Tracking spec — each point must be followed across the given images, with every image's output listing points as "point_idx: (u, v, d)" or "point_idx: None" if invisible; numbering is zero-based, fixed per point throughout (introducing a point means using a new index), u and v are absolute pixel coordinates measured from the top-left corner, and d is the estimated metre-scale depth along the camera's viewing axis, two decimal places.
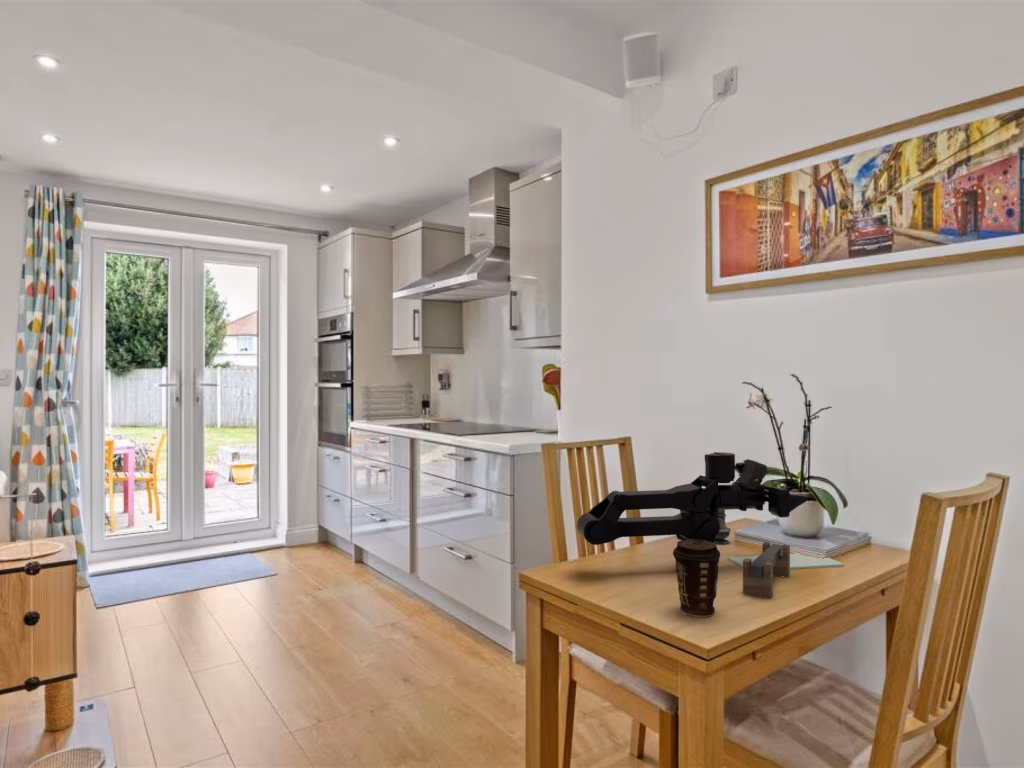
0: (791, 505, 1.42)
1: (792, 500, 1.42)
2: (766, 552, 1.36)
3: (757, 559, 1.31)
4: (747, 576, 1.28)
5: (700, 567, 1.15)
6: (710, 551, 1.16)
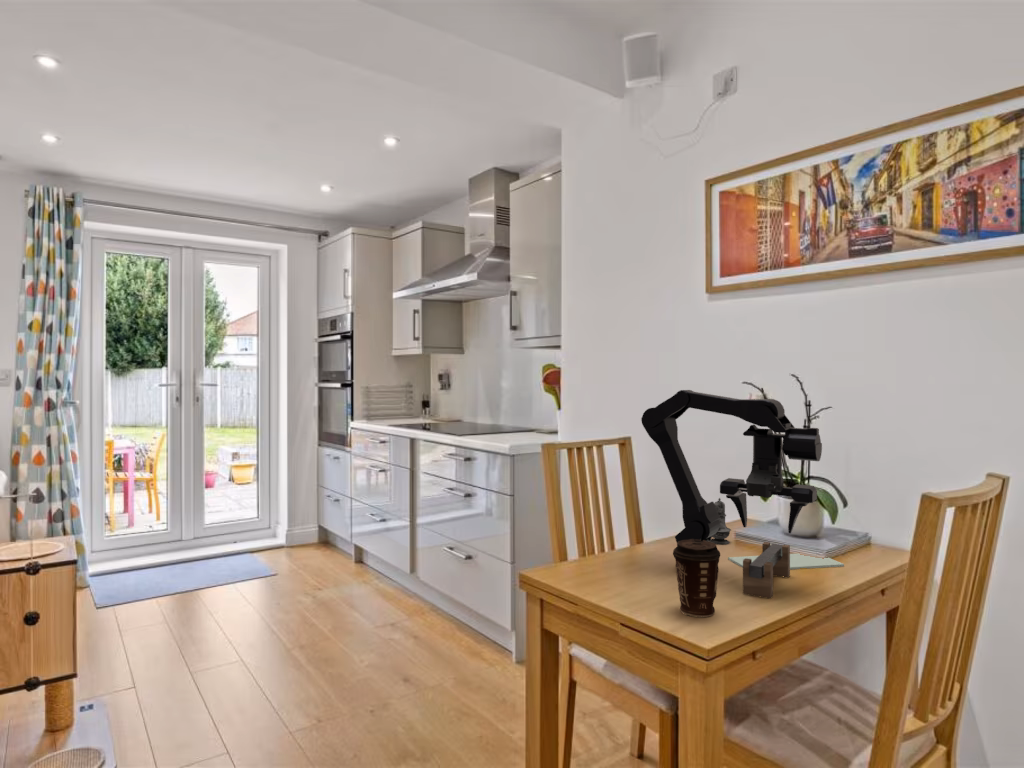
0: None
1: None
2: (766, 552, 1.36)
3: (757, 559, 1.31)
4: (747, 576, 1.28)
5: (700, 567, 1.15)
6: (710, 551, 1.16)
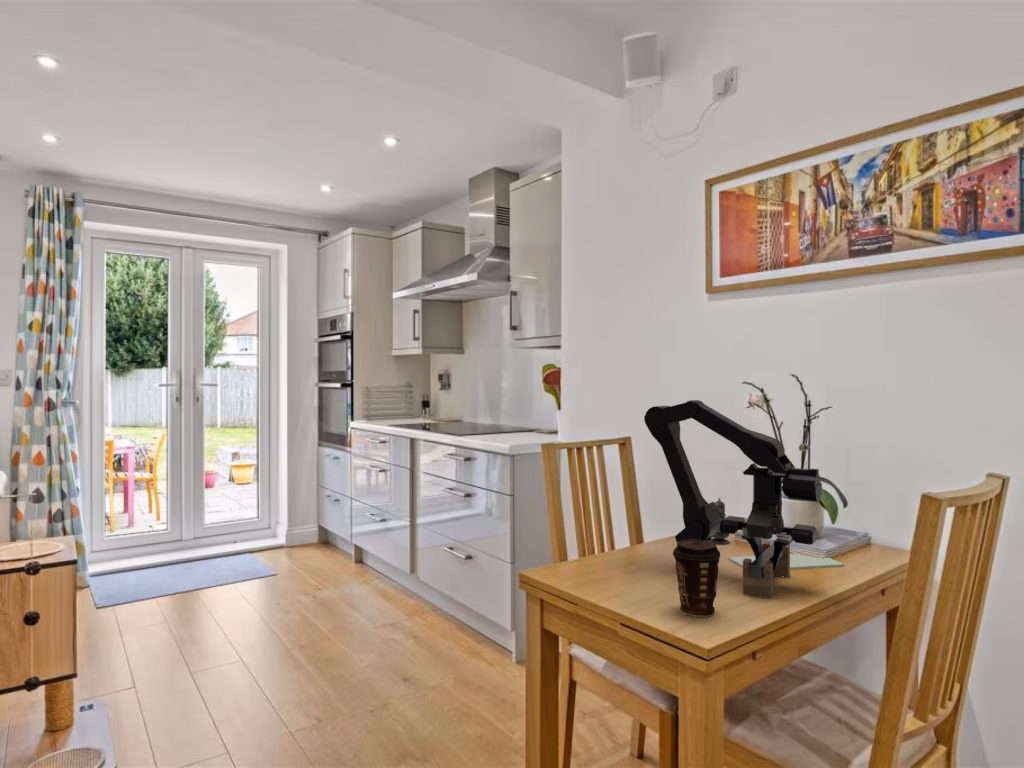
0: None
1: None
2: (766, 552, 1.36)
3: (757, 559, 1.31)
4: (747, 576, 1.28)
5: (700, 567, 1.15)
6: (710, 551, 1.16)
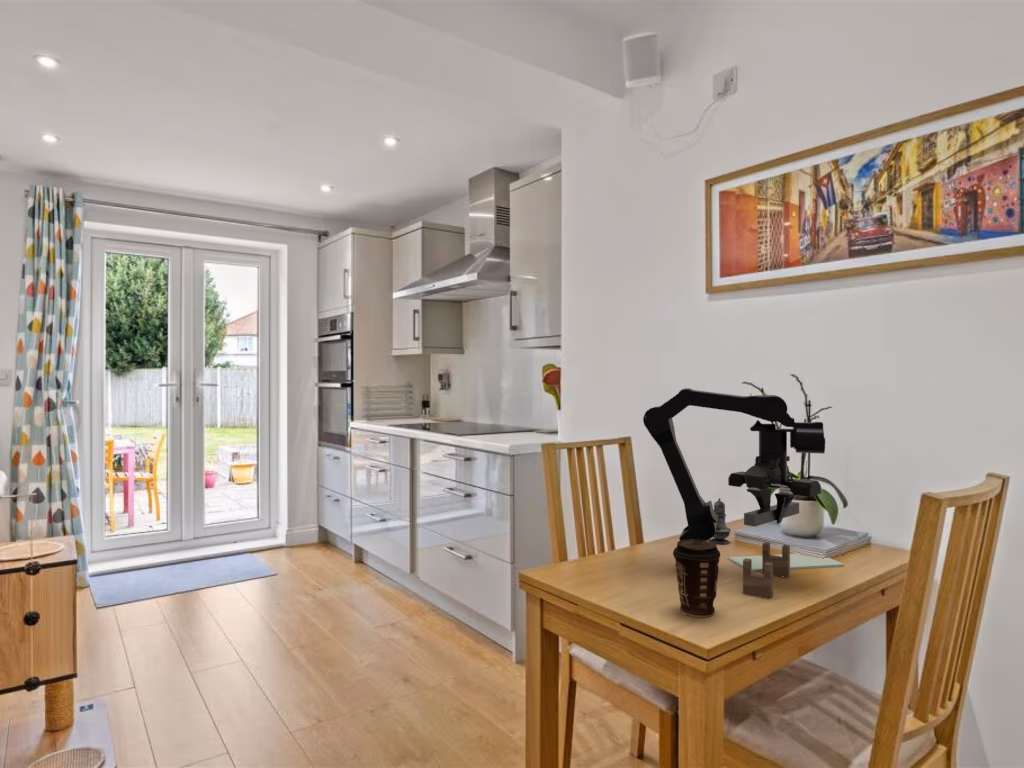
0: None
1: None
2: (773, 506, 1.40)
3: (757, 510, 1.36)
4: (747, 576, 1.28)
5: (700, 567, 1.15)
6: (710, 551, 1.16)
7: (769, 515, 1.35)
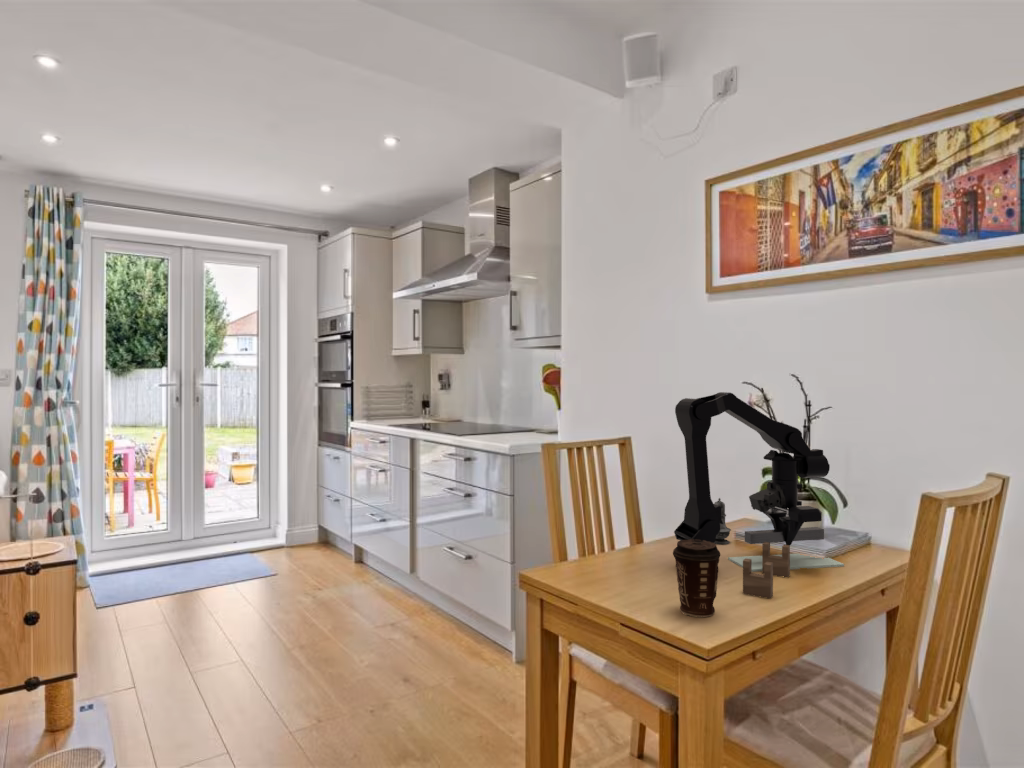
0: None
1: None
2: None
3: (764, 530, 1.50)
4: (747, 576, 1.28)
5: (700, 567, 1.15)
6: (710, 551, 1.16)
7: (774, 536, 1.48)
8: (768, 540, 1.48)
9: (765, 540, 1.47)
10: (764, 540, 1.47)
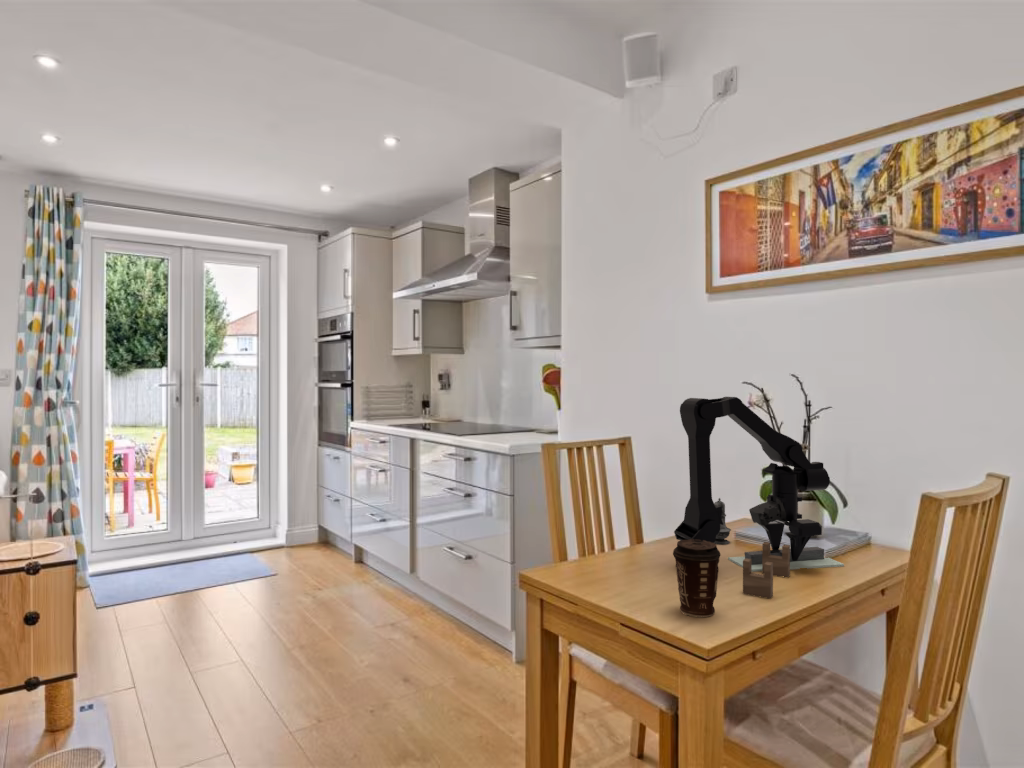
0: None
1: None
2: None
3: None
4: (747, 576, 1.28)
5: (700, 567, 1.15)
6: (710, 551, 1.16)
7: None
8: None
9: None
10: None
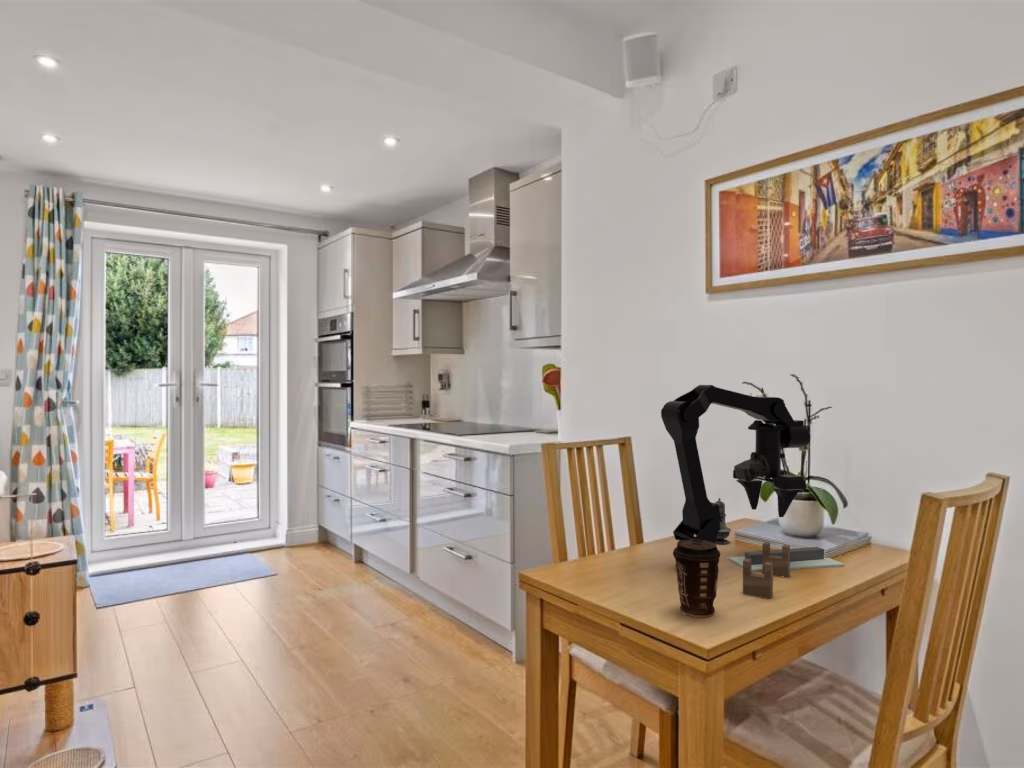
0: None
1: None
2: None
3: None
4: (747, 576, 1.28)
5: (700, 567, 1.15)
6: (710, 551, 1.16)
7: None
8: None
9: None
10: None
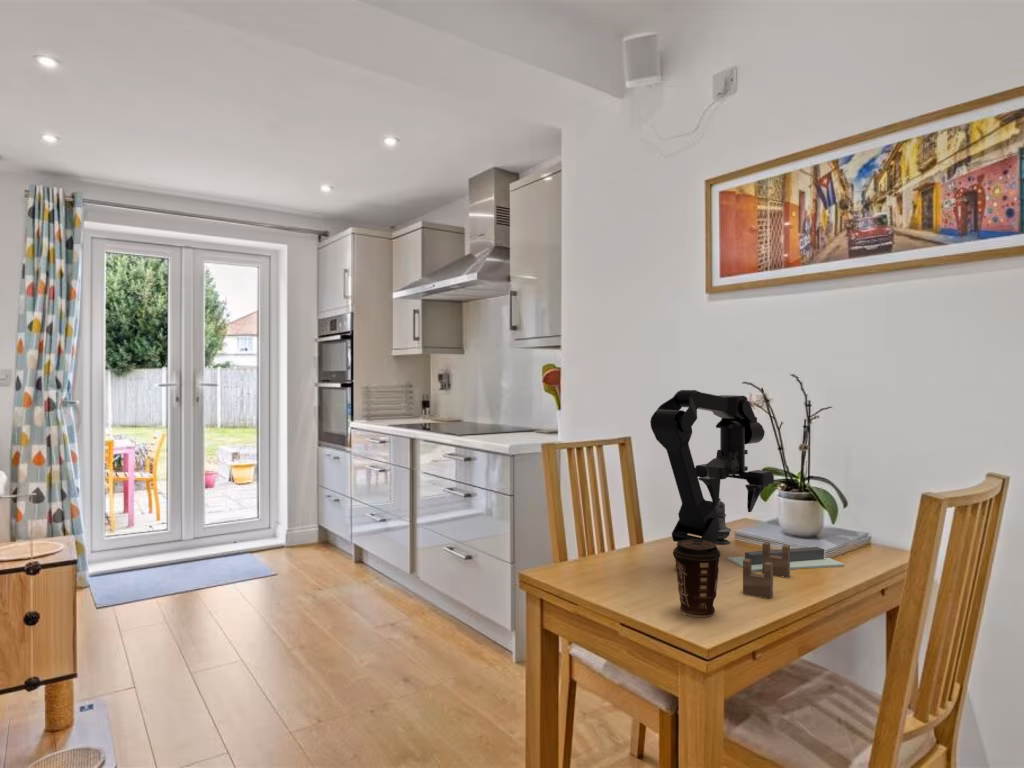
0: None
1: None
2: None
3: None
4: (747, 576, 1.28)
5: (700, 567, 1.15)
6: (710, 551, 1.16)
7: None
8: None
9: None
10: None
